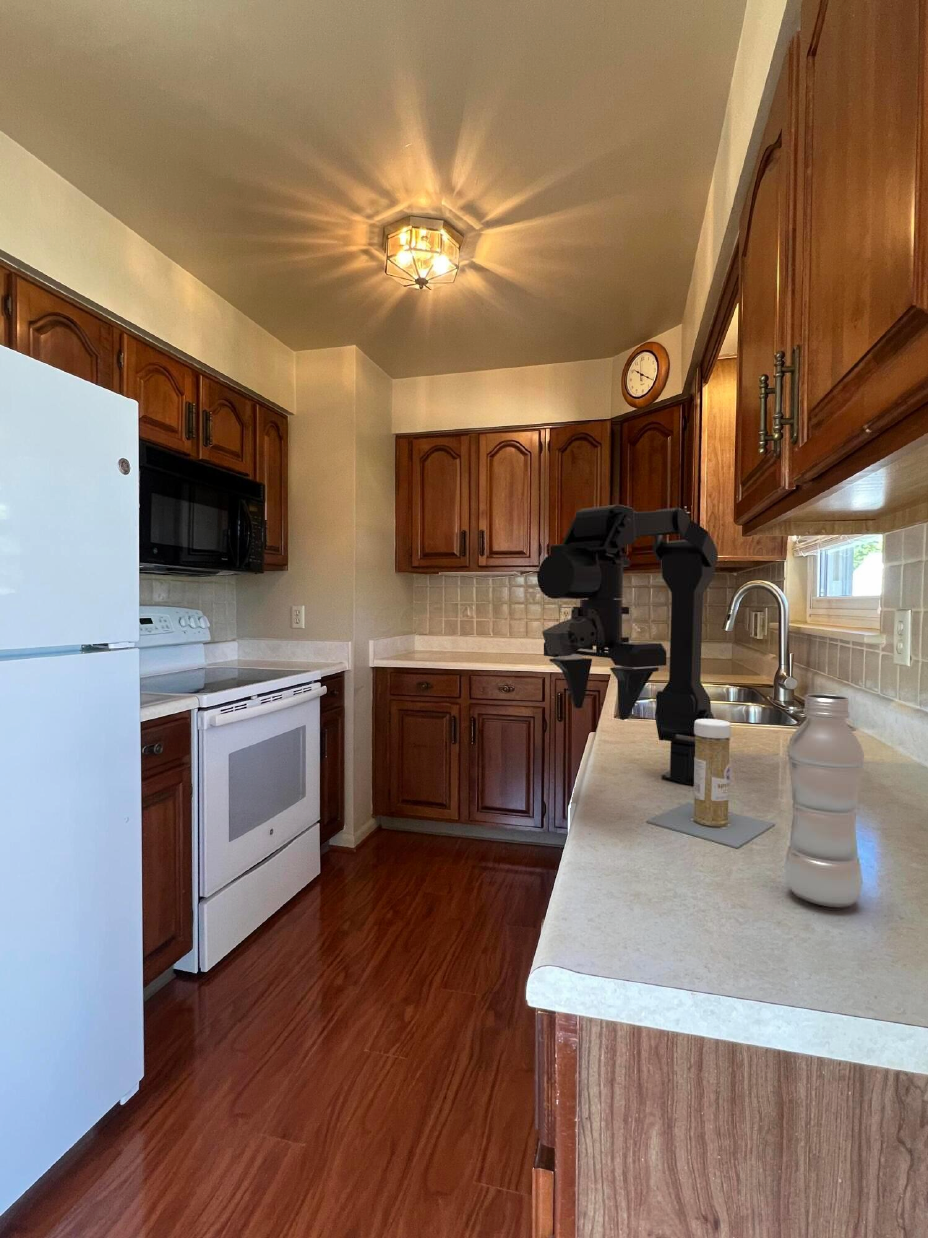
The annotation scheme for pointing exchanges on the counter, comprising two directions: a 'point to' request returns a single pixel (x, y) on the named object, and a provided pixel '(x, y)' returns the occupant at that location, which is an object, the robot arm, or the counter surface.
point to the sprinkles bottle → (711, 772)
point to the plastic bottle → (824, 805)
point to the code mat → (730, 835)
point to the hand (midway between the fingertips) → (599, 713)
